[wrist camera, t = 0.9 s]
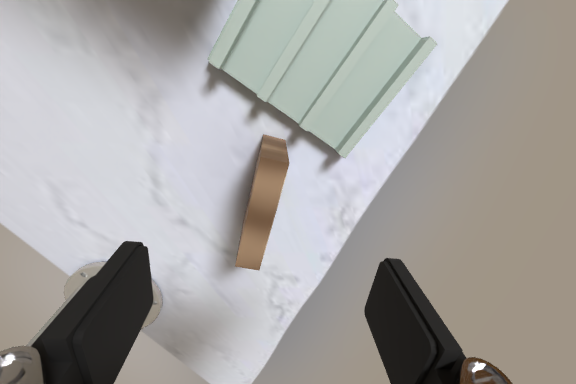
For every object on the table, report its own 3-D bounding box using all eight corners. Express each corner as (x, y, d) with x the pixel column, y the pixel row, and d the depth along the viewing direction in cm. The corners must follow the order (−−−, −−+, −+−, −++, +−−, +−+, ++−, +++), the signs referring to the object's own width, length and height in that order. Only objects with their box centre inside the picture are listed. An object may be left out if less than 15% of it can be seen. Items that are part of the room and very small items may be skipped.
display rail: (342, 153, 31) (348, 161, 28) (210, 59, 26) (203, 58, 23) (425, 49, 26) (441, 47, 24) (285, -87, 22) (287, -106, 19)
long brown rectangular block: (263, 228, 35) (261, 270, 27) (243, 224, 34) (235, 266, 27) (287, 140, 30) (291, 163, 23) (263, 134, 29) (260, 156, 22)
